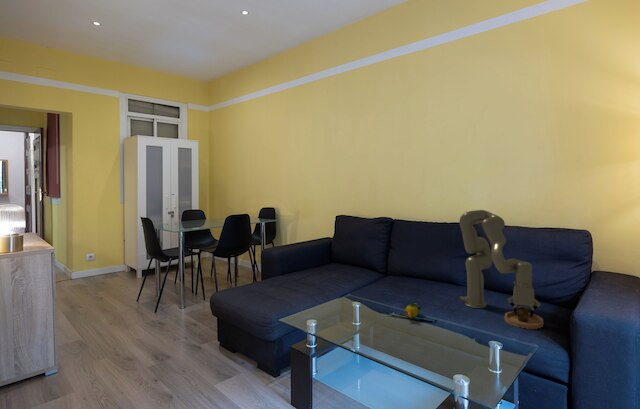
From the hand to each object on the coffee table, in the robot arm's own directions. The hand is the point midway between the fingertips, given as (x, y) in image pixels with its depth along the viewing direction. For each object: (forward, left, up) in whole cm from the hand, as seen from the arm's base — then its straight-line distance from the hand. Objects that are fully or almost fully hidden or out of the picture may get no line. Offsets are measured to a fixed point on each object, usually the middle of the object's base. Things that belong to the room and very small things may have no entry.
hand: (523, 315), depth 191 cm
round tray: (0, 0, -4) cm, 4 cm away
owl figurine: (-57, -19, -4) cm, 60 cm away
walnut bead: (0, 0, -3) cm, 3 cm away
